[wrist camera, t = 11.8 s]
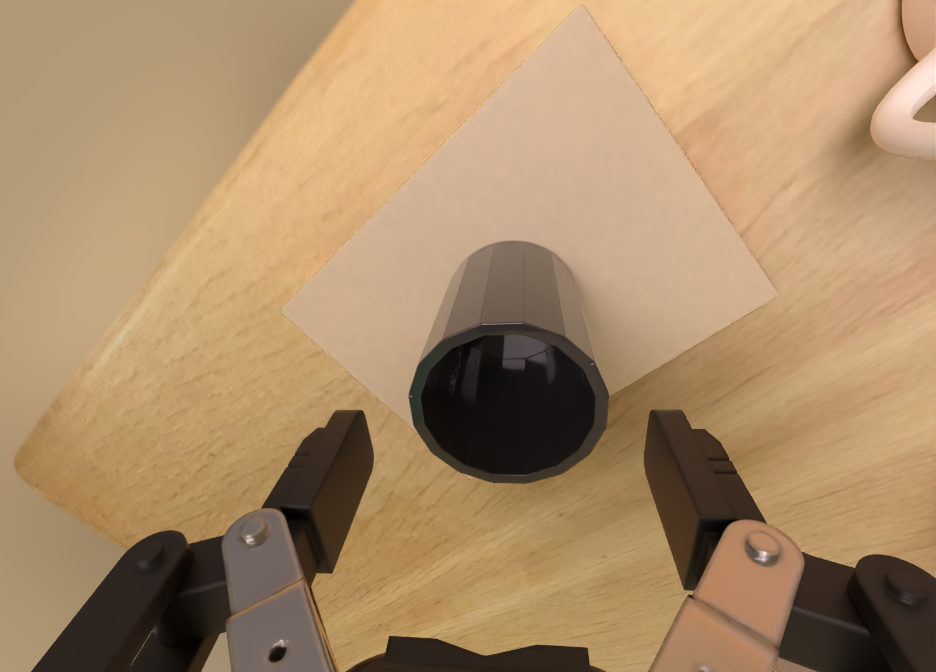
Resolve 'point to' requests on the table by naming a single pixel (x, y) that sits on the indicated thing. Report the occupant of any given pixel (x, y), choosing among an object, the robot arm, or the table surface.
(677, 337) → the plate
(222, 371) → the table surface
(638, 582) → the table surface
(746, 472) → the table surface
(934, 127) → the cup
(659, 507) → the robot arm
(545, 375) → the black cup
